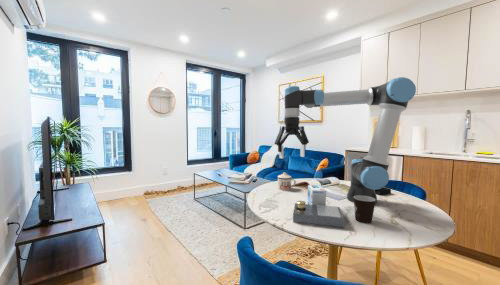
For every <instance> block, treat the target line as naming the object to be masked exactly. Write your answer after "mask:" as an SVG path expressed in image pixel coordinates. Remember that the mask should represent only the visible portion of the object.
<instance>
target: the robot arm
mask: <svg viewBox="0 0 500 285" xmlns="http://www.w3.org/2000/svg"><path fill="white" fill-rule="evenodd" d="M416 93H417V87H416V85H415V83H414V82H413V80H411V79H410V78H408V77H403V76H402V77H401V76H400V77H396V78H392V79H390V81H387V82H385V83H383V84H380V85H377V86H372V87H371V86H369V87H368V88H367V89H357V90H343V91H331V92H325V91H324V90H323V89H305V90H301V89H300V87H299V86H298V85H295V86H294V85H293V86H291V85H290V86H286V87H285V89H284V125H283V126H281V125H280V126H279V130H278V131H279V132H278V134H277V136H276V139H275V141H274V144H275V145H276V146H277V152H278V153H279V154H278V155H279V156H278V158H279V159H284V157H285V156H284V153H285V152H284V145H283V144H284V143H285V141H286V140H287V139H288V137H289V136H295V137H296V138H297V139H298V141H299V142H300V145H299V148H300V149H299V153H300V154H299V156H300V157H302V158H305V152H306V150H307V149H306V147H307V144H309V143H310V141H309V139H308V136H307V134H306V131H305V126H304V125H300V112H301V111H300V106H304V107H305V108H307V109H312V108H317V107H318V108H319V107H332V106H333V107H335V106H351V105H368V106H379V108H380V111H379V114H378V118H377V122H376V125H375V127H374V131H373V134H372V139H371V142H370V145H369V149H368V151H367V155H366V156H364V157H363V158H360V159H359V158H358V159H357V158H354V159H352V160H351V164H350V185H349V189H348V191H347V194H346V200H348V201H350V202H353V203H354V198H353V197H354V196H357V195H361V196H369V197H372V198H374V199H376V201H375V204H377V203H378V196H377V194H376V193H375V190H377V189H381V188H383V187H386V186H387V184H388V183H389V181H390V174H389V173H388V169H389V167H390V166H389V165H390V164H389V163H388V161H387V160H388V157H389V154H390V150H391V147H392V143H393V140H394V137H395V133H396V130H397V128H398V124H399V121H400V117H401V114H402V112H403V111H405V110H407V108H408V104H409V101H411V100H412V99H413V98H414V97H415V95H416Z"/></svg>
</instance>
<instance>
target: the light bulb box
mask: <svg viewBox="0 0 500 285" xmlns="http://www.w3.org/2000/svg"><path fill="white" fill-rule="evenodd" d="M326 200H327V190H326V189H325V188H324V187H323V186H322V185H320V184H319V185H318V184H317V185H316V184H312V185H311V184H307V204H309V205H324V206H327V205H326V203H327V202H326Z"/></svg>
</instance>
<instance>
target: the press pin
mask: <svg viewBox="0 0 500 285" xmlns="http://www.w3.org/2000/svg"><path fill="white" fill-rule="evenodd" d="M296 201H297V200H296ZM296 203H297V204H298V210H304V207H305V204H306V201H303V200H298V201H297V202H296Z"/></svg>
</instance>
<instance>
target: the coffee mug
mask: <svg viewBox="0 0 500 285" xmlns="http://www.w3.org/2000/svg"><path fill="white" fill-rule="evenodd" d="M353 198H354V202H353V205H354V206H353V208H354V218H355V221H356V222H358V223H361V224H367V225H368V224H372V222H373V217H374V211H375V205H376V203H375V201H376V199H374V198H372V197H369V196H361V195H357V196H354V197H353Z"/></svg>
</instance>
